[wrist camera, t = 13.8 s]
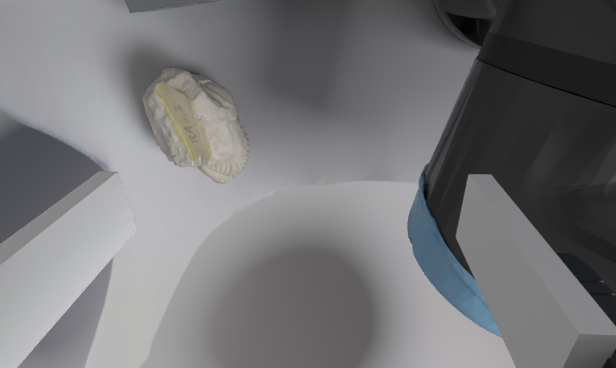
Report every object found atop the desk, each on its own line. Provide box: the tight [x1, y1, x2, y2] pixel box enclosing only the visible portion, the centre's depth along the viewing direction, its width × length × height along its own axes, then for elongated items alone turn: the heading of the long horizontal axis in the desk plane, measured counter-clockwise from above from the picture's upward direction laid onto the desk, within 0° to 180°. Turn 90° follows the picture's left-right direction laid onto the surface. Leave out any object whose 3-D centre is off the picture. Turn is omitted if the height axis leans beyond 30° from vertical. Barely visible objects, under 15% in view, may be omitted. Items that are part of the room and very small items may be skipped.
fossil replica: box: [142, 68, 249, 184], centre depth 35 cm, size 12×8×10 cm
